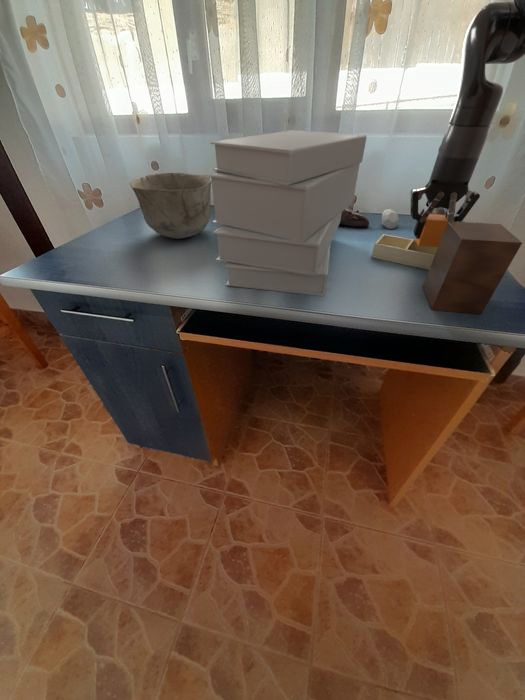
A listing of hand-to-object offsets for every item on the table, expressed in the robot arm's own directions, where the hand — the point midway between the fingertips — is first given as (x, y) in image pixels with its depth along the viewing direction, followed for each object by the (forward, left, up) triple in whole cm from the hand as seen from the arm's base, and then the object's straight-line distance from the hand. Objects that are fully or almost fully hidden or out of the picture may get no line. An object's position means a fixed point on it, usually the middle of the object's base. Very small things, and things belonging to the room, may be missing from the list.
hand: (428, 237), depth 71 cm
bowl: (+60, +31, -6) cm, 68 cm away
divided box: (0, 0, -6) cm, 6 cm away
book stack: (+25, +22, -6) cm, 35 cm away
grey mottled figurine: (+8, -28, -6) cm, 30 cm away
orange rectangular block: (0, 0, -1) cm, 1 cm away
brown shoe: (+28, -11, -6) cm, 31 cm away
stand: (-12, +14, -6) cm, 19 cm away
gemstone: (+18, -18, -6) cm, 26 cm away
